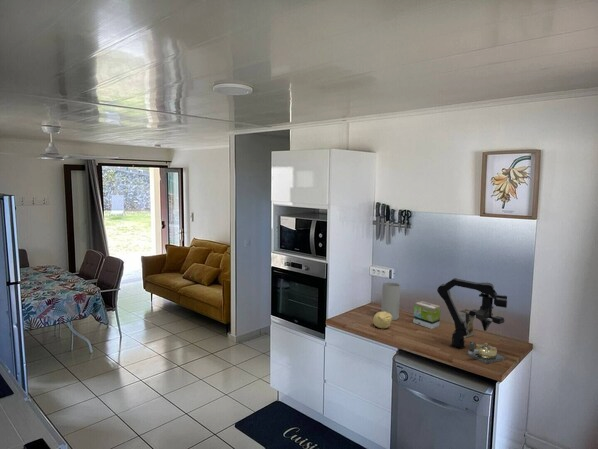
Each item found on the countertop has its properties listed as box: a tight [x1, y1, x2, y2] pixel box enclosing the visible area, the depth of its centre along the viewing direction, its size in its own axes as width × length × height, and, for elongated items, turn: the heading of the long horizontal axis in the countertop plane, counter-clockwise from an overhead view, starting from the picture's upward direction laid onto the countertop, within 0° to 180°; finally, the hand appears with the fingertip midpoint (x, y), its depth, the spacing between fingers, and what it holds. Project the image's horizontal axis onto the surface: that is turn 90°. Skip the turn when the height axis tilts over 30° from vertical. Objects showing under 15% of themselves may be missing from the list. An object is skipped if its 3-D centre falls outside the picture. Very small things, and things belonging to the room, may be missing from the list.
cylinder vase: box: [380, 281, 401, 322], centre depth 294 cm, size 12×12×25 cm
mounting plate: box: [466, 351, 506, 365], centre depth 231 cm, size 13×15×2 cm
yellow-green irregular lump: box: [468, 341, 498, 358], centre depth 229 cm, size 17×11×8 cm, turn 110°
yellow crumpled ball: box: [373, 311, 393, 329], centre depth 275 cm, size 12×12×11 cm
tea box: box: [412, 300, 441, 330], centre depth 282 cm, size 15×10×15 cm, turn 42°
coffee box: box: [458, 308, 475, 339], centre depth 264 cm, size 9×6×16 cm
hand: (485, 330), depth 237 cm, fingers closed
